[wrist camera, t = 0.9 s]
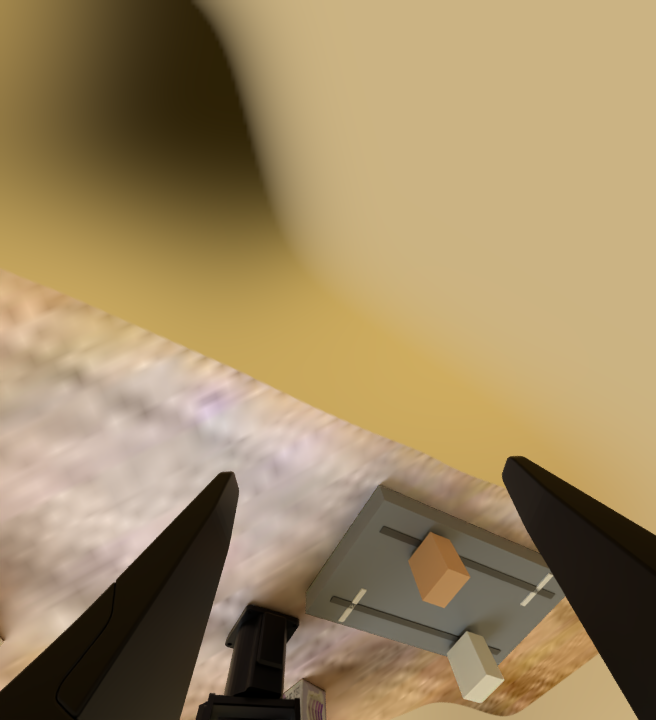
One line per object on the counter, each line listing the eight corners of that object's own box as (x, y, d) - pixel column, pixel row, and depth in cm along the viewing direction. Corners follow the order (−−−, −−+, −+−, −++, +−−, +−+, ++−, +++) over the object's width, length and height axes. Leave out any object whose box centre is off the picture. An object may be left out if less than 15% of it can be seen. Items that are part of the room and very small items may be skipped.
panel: (482, 649, 35) (493, 671, 33) (305, 592, 30) (305, 614, 28) (562, 563, 32) (580, 582, 30) (379, 484, 27) (384, 500, 25)
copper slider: (427, 568, 27) (444, 608, 24) (408, 560, 27) (422, 600, 23) (449, 539, 26) (470, 577, 23) (430, 531, 26) (448, 568, 22)
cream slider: (462, 658, 31) (481, 703, 28) (446, 653, 31) (463, 698, 27) (483, 636, 30) (504, 679, 27) (466, 631, 30) (486, 674, 27)
